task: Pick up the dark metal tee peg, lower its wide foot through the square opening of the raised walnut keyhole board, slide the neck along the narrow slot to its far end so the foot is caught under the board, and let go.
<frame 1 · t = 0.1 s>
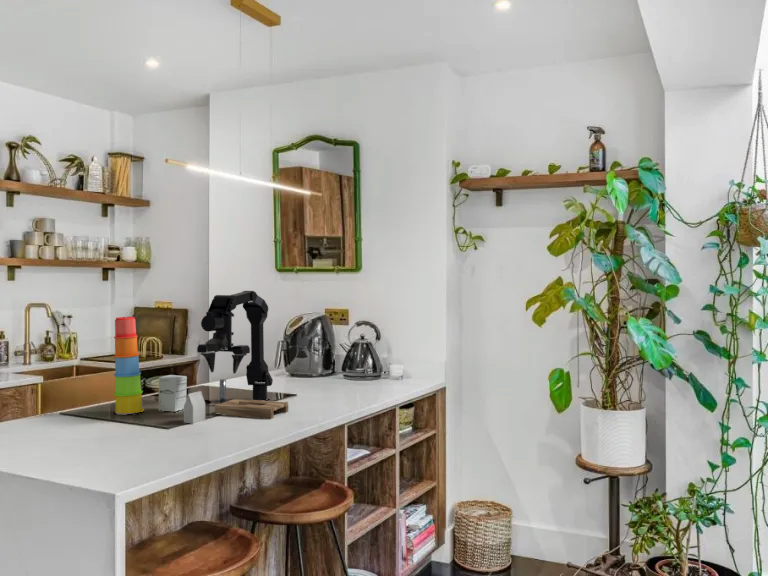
hand: (223, 372, 247), 15 cm above the worktop, tool pointing down, fingers open, 9 cm apart
supplement box: (172, 411, 252), on the worktop
stacking cups: (129, 413, 247), on the worktop
tee peg: (222, 405, 262), on the worktop
keyhole board: (252, 413, 248), on the worktop
grey gabled carton: (194, 422, 232), on the worktop
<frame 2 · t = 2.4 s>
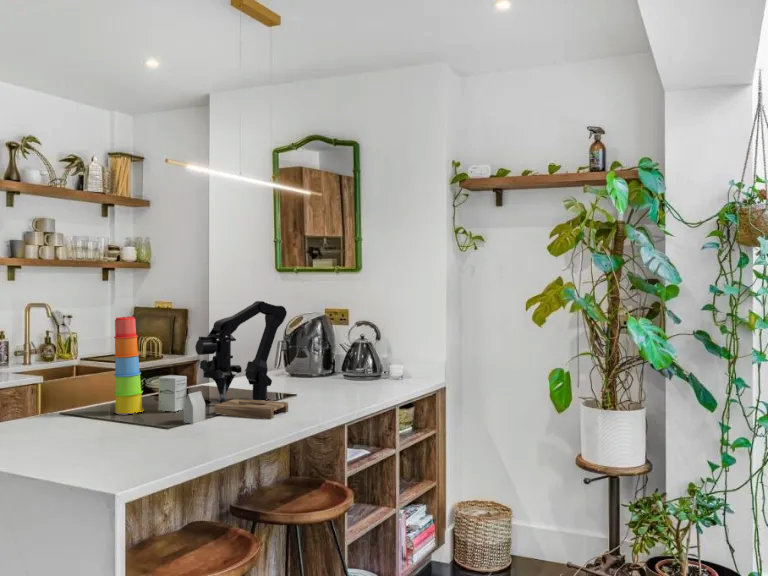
hand: (222, 393, 262), 5 cm above the worktop, tool pointing down, fingers closed on tee peg, 2 cm apart
tee peg: (222, 405, 262), on the worktop, touching gripper
everything else where it was.
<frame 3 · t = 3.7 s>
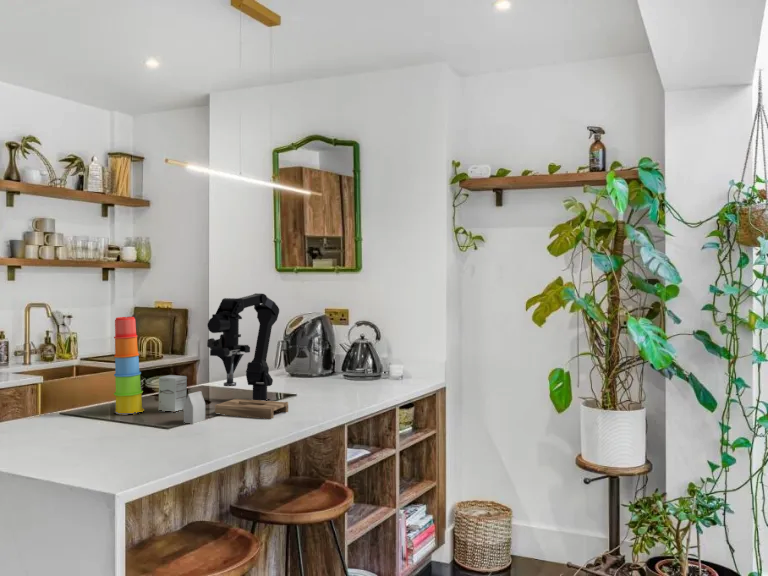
hand: (230, 373, 256), 13 cm above the worktop, tool pointing down, fingers closed on tee peg, 2 cm apart
tee peg: (229, 385, 256), point 9 cm above the worktop, touching gripper
everything else where it was.
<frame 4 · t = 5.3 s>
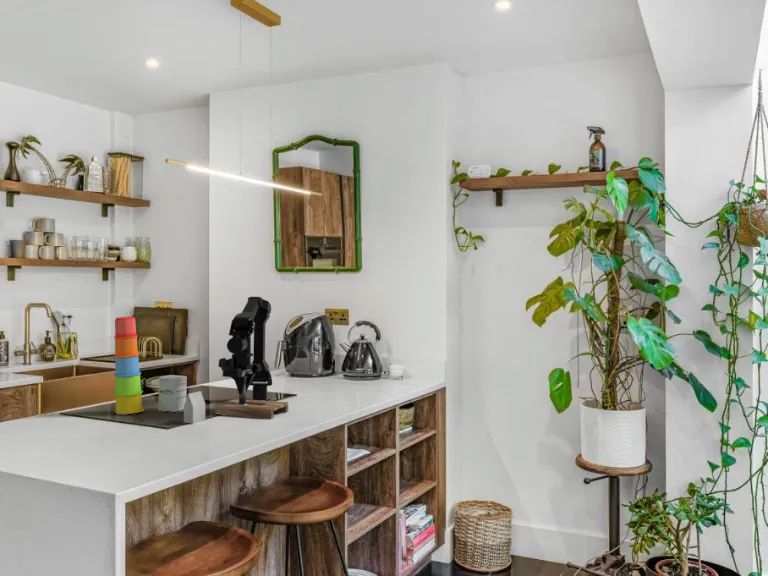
hand: (242, 393, 249), 7 cm above the worktop, tool pointing down, fingers closed on tee peg, 2 cm apart
tee peg: (242, 406, 249), point 2 cm above the worktop, touching gripper
everything else where it was.
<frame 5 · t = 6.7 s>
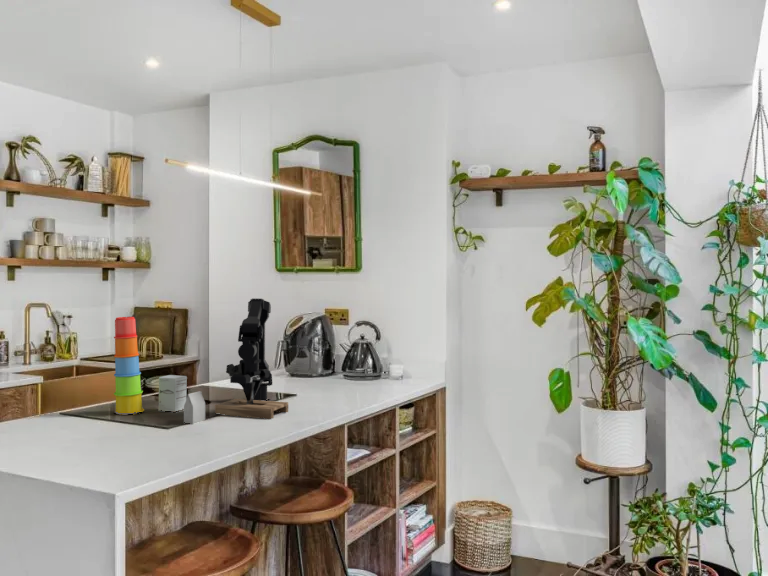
hand: (250, 399, 248), 5 cm above the worktop, tool pointing down, fingers closed on tee peg, 2 cm apart
tee peg: (249, 412, 248), on the worktop, touching gripper
everything else where it was.
when the fingers open (5 cm above the worktop, at t = 8.1 s): tee peg stays where it is, on the worktop.
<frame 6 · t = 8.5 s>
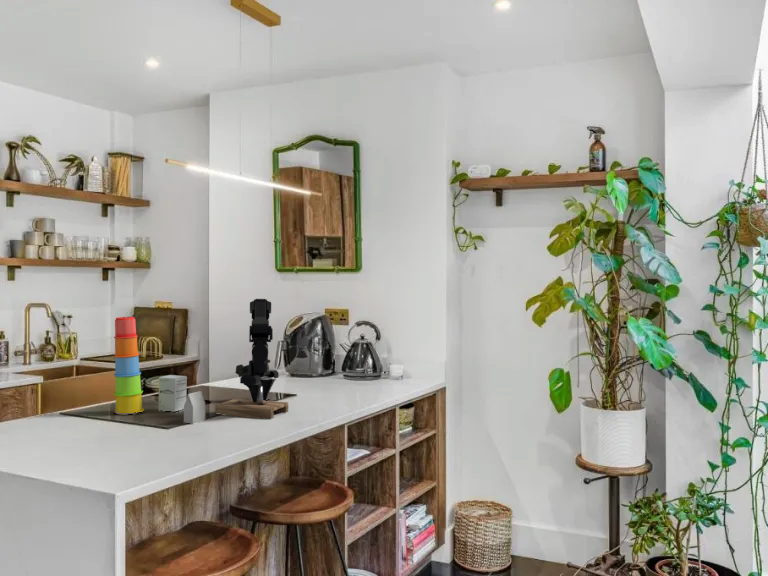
hand: (259, 400, 247), 5 cm above the worktop, tool pointing down, fingers open, 7 cm apart
tee peg: (259, 413, 247), on the worktop
everything else where it was.
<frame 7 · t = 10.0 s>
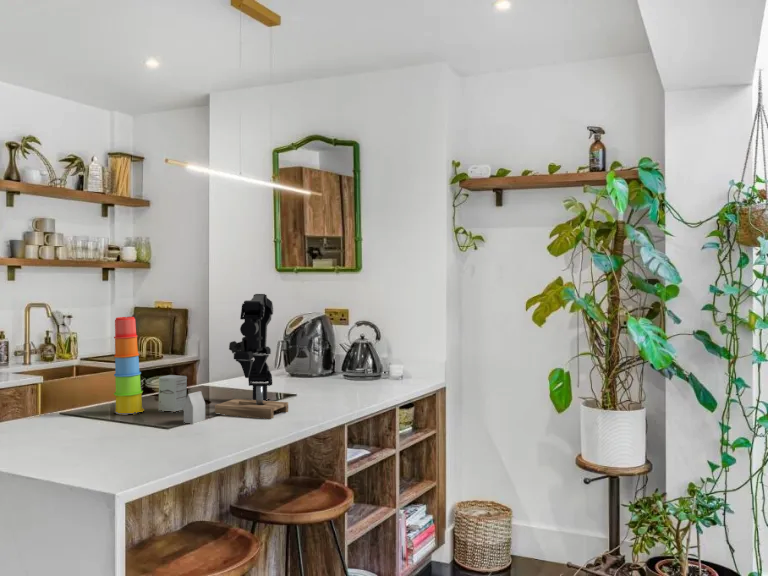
hand: (252, 375, 255), 12 cm above the worktop, tool pointing down, fingers open, 9 cm apart
nothing on the worktop moved.
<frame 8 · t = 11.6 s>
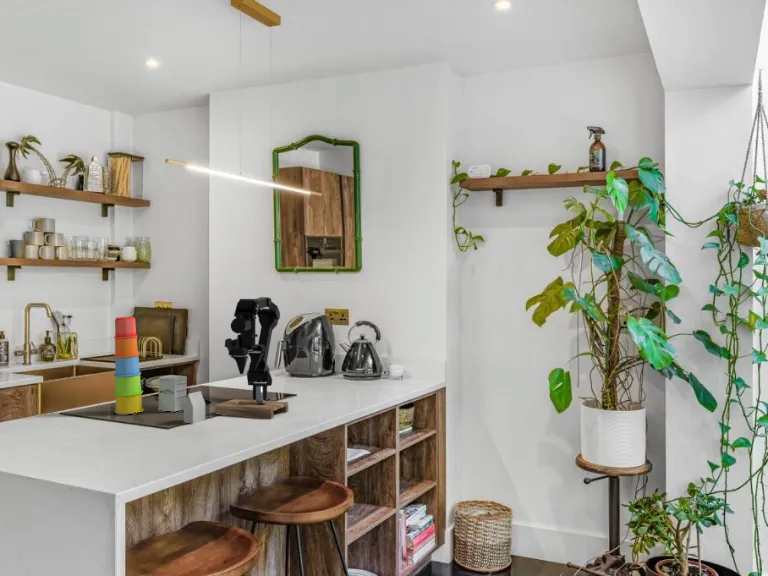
hand: (247, 372, 260), 13 cm above the worktop, tool pointing down, fingers open, 9 cm apart
nothing on the worktop moved.
at the end: tee peg 0.1 cm from the target spot on the keyhole board, point 0.0 cm above the keyhole board's base; tee peg tilted 0°; the gripper is holding nothing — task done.
